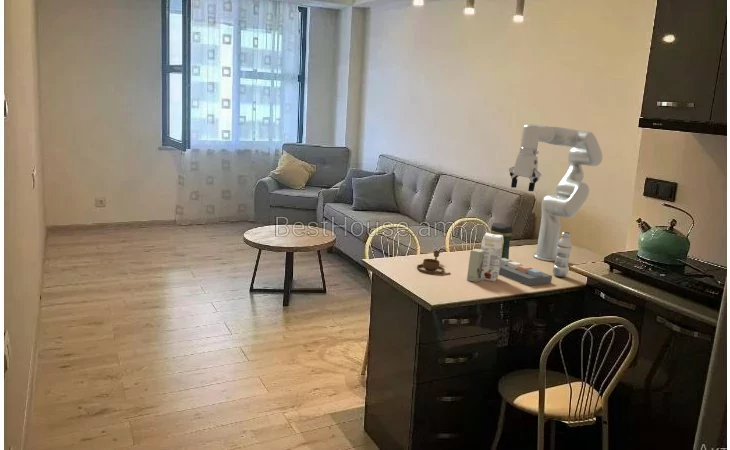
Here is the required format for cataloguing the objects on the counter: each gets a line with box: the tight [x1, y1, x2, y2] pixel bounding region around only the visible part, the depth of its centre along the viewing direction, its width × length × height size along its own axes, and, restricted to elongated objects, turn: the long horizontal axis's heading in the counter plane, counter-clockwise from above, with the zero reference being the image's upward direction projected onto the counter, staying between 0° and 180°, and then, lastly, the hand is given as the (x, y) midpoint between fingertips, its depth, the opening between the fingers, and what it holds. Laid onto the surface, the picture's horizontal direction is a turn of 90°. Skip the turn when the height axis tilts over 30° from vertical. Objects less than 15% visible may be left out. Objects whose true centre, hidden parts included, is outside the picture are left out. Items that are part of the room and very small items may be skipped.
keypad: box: [499, 260, 553, 287], centre depth 278 cm, size 14×25×3 cm, turn 33°
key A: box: [507, 261, 522, 269], centre depth 280 cm, size 4×4×2 cm
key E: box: [528, 268, 543, 277], centre depth 270 cm, size 4×4×2 cm
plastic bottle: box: [552, 231, 573, 278], centre depth 282 cm, size 6×7×20 cm
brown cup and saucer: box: [416, 250, 451, 277], centre depth 276 cm, size 18×20×6 cm
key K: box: [501, 258, 512, 265], centre depth 284 cm, size 4×4×2 cm
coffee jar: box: [490, 222, 513, 260], centre depth 296 cm, size 10×8×19 cm
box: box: [466, 248, 484, 283], centre depth 264 cm, size 5×4×13 cm
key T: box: [517, 264, 532, 273], centre depth 275 cm, size 4×4×2 cm
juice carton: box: [480, 232, 504, 282], centre depth 268 cm, size 8×9×19 cm
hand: (522, 189), depth 293 cm, fingers open, 9 cm apart
